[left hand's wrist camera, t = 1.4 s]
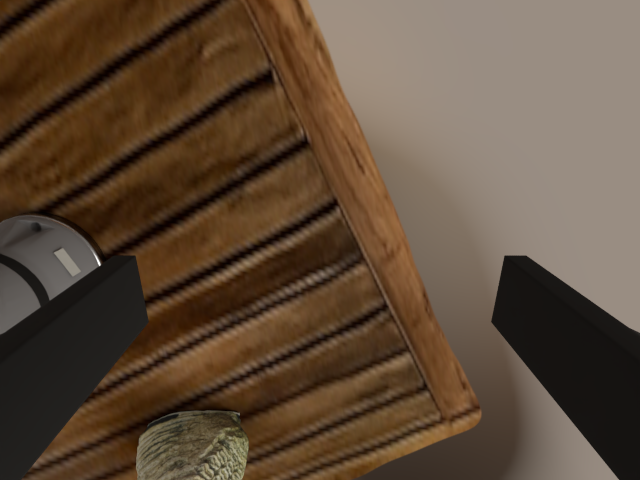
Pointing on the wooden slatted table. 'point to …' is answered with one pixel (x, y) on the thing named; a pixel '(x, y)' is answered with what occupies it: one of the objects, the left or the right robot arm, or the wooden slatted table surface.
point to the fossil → (193, 447)
